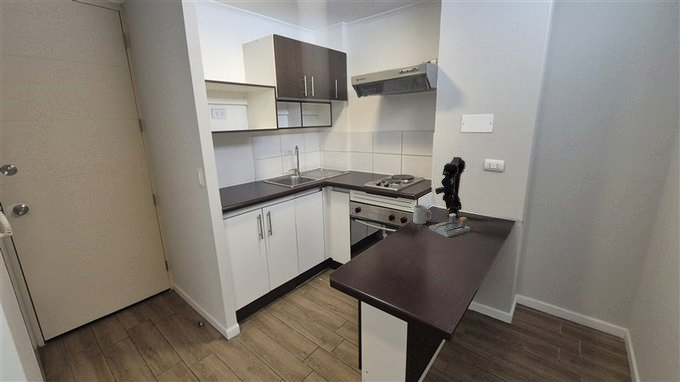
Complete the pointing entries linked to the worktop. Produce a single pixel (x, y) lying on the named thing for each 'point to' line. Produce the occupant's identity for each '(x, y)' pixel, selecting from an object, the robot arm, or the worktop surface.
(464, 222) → the orange fader
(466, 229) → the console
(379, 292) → the worktop surface
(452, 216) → the cream fader
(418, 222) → the mug
